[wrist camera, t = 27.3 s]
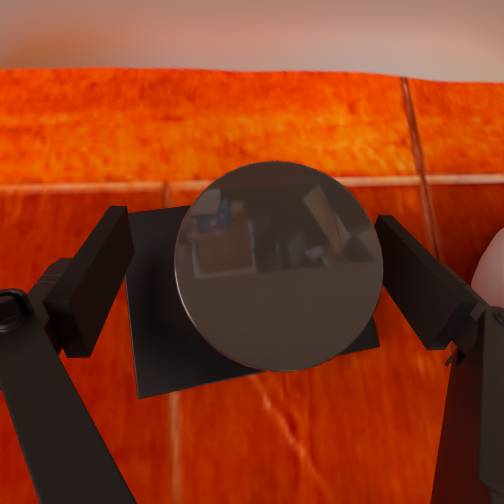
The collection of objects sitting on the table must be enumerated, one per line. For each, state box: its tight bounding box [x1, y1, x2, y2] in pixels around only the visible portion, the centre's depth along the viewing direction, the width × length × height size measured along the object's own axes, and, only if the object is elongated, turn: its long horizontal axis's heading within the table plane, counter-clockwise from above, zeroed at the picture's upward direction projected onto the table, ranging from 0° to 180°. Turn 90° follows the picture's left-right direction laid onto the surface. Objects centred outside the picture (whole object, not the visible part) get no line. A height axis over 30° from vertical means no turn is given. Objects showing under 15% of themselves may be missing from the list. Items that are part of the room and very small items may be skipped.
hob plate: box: [125, 205, 380, 399], centre depth 19 cm, size 15×11×1 cm
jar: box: [174, 161, 383, 372], centre depth 14 cm, size 7×7×9 cm
